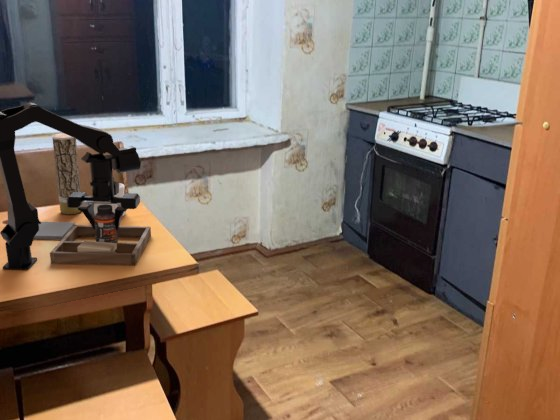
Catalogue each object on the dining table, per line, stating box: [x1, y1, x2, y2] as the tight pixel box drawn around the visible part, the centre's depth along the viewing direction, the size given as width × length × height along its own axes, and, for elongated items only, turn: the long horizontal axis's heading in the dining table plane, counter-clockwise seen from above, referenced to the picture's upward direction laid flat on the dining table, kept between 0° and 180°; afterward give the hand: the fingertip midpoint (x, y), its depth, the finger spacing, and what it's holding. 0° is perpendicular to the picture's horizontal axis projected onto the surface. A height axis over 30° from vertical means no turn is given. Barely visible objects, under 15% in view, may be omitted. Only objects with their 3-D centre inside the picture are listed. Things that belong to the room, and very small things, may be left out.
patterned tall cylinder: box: [52, 132, 82, 215], centre depth 187 cm, size 7×7×25 cm
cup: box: [94, 182, 127, 217], centre depth 188 cm, size 10×10×10 cm
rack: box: [49, 224, 152, 267], centre depth 164 cm, size 20×22×3 cm
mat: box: [33, 221, 76, 241], centre depth 174 cm, size 11×11×1 cm
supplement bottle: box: [94, 204, 119, 242], centre depth 165 cm, size 6×6×11 cm
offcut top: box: [77, 240, 117, 253], centre depth 158 cm, size 4×9×2 cm, turn 82°
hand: (106, 229), depth 166 cm, fingers closed on supplement bottle, 6 cm apart
